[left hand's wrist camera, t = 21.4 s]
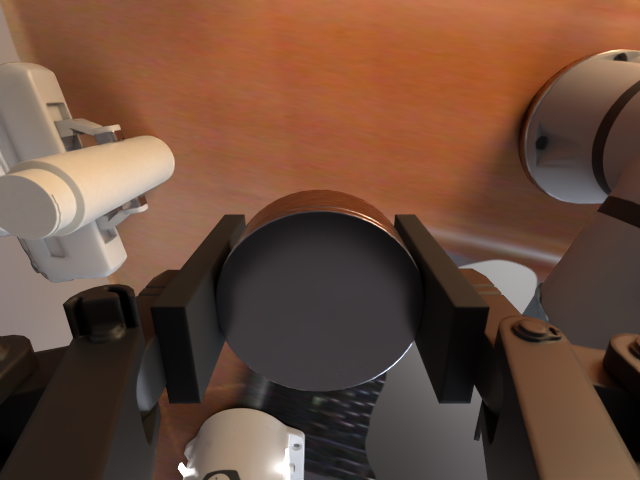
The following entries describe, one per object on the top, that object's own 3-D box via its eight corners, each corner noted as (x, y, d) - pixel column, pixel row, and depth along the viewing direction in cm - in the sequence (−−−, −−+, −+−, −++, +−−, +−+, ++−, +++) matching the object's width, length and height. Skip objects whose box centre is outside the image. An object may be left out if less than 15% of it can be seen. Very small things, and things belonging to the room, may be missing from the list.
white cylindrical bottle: (138, 189, 41) (8, 256, 24) (117, 142, 39) (-43, 178, 22) (182, 177, 40) (81, 236, 23) (162, 129, 38) (36, 155, 21)
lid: (421, 196, 11) (444, 219, 9) (392, 350, 13) (405, 397, 11) (232, 181, 11) (211, 202, 9) (233, 339, 13) (217, 386, 11)
